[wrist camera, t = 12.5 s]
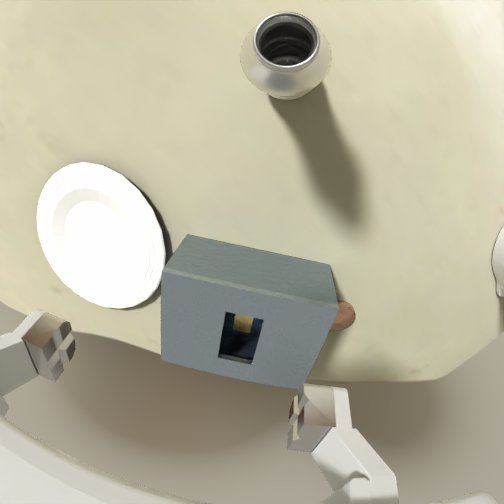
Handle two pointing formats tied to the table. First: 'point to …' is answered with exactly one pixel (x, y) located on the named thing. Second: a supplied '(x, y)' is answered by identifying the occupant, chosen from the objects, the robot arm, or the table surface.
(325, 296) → the coin box
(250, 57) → the plastic bottle
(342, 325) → the copper token
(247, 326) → the brushed brass bar
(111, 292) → the plate
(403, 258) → the table surface
